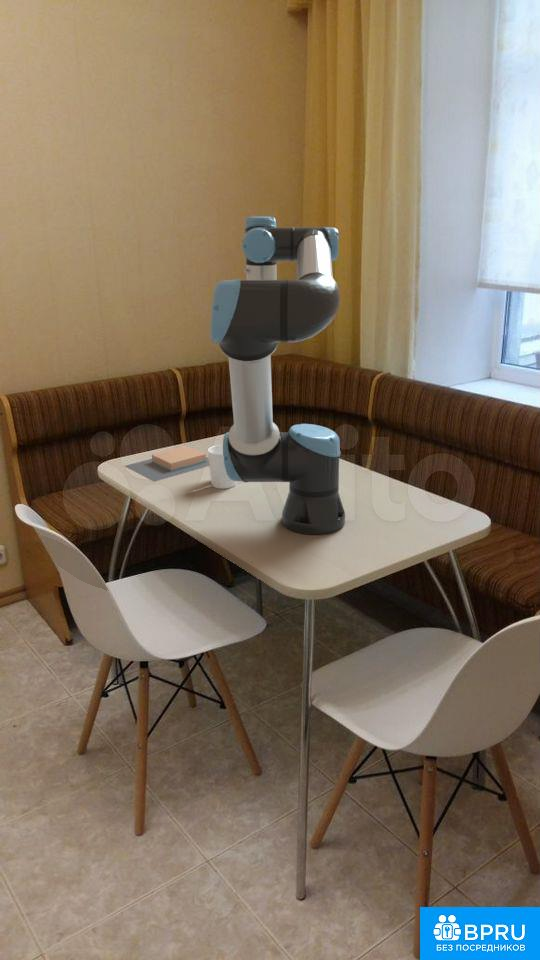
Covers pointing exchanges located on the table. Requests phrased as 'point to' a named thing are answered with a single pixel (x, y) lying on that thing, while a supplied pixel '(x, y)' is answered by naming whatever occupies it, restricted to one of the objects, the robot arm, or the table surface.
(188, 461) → the tile
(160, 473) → the mat
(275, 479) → the robot arm
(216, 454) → the white cup
